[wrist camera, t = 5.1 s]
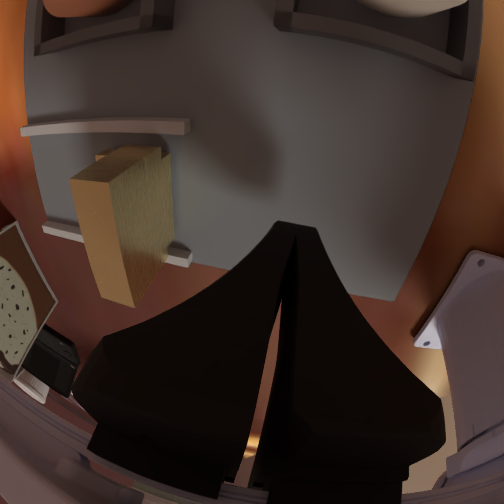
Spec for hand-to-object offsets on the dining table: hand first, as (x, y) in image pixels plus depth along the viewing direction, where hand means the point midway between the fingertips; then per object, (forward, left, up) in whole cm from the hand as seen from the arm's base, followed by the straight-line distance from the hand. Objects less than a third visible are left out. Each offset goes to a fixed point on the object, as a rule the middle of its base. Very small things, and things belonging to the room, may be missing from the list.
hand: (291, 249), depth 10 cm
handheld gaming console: (+28, +26, -5) cm, 38 cm away
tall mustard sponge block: (+7, 0, -2) cm, 7 cm away
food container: (+24, +11, -5) cm, 27 cm away
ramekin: (+50, +53, -5) cm, 73 cm away
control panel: (+4, -5, -4) cm, 8 cm away
